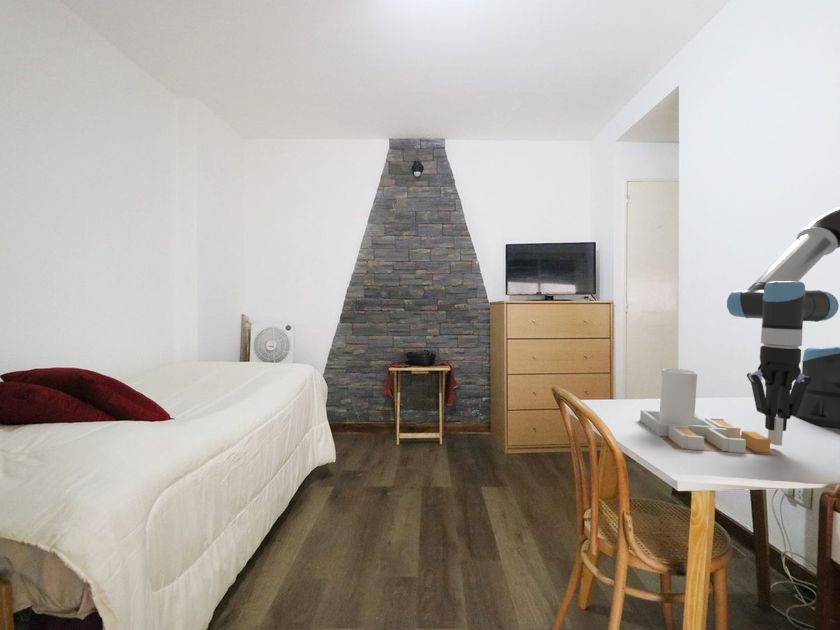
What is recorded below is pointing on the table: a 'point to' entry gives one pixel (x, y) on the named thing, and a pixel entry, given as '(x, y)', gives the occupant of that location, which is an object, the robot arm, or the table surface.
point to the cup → (678, 396)
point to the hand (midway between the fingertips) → (774, 443)
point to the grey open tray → (725, 440)
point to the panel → (713, 447)
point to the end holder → (663, 429)
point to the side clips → (693, 441)
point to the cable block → (756, 441)
